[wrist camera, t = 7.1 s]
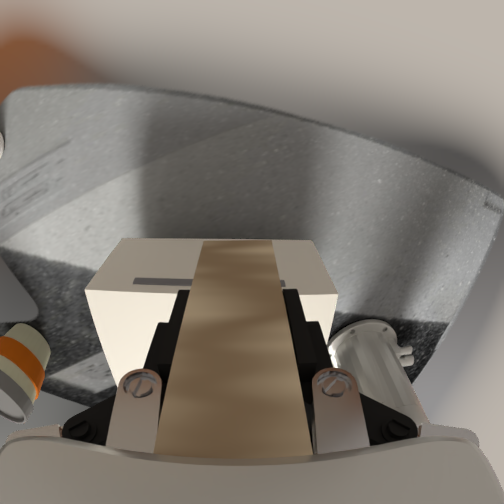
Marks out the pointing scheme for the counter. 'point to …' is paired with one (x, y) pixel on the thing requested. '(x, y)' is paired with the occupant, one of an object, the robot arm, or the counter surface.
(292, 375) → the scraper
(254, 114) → the counter surface
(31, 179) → the counter surface
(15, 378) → the reusable coffee cup
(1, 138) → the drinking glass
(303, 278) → the cabinet
